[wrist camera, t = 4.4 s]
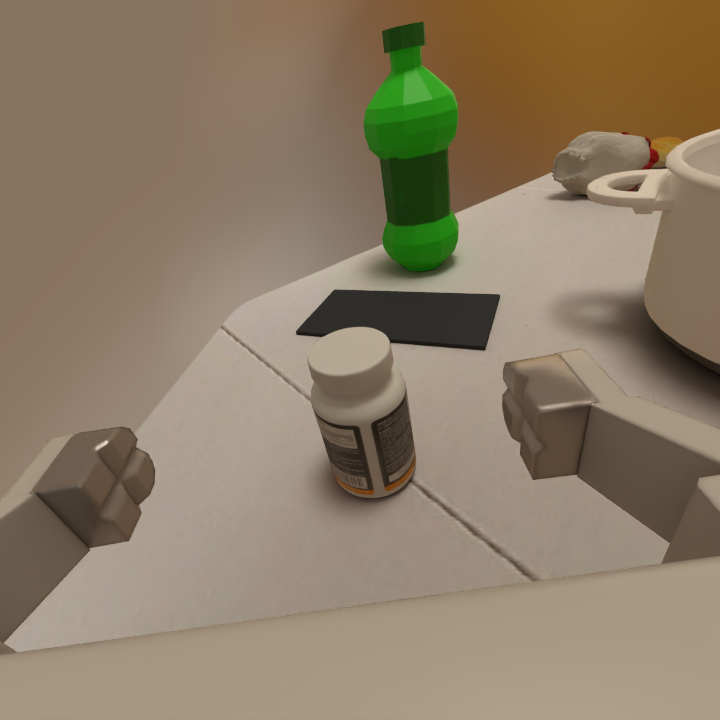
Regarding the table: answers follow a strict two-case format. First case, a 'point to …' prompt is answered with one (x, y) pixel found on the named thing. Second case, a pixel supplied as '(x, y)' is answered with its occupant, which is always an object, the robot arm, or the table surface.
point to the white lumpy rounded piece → (602, 159)
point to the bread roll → (664, 149)
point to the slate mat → (408, 316)
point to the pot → (680, 243)
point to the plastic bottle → (414, 153)
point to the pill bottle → (362, 411)
